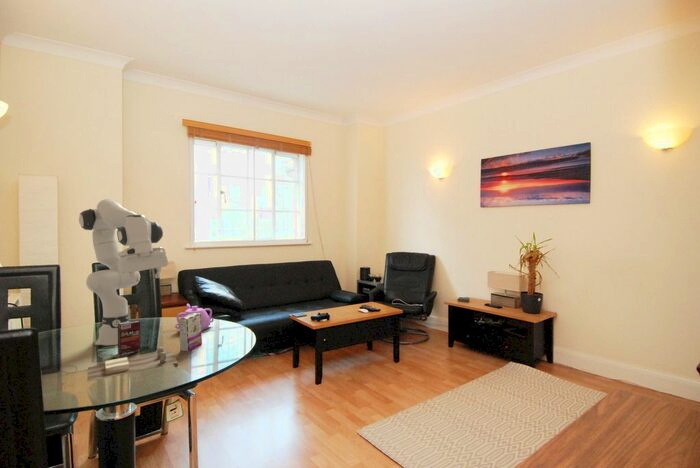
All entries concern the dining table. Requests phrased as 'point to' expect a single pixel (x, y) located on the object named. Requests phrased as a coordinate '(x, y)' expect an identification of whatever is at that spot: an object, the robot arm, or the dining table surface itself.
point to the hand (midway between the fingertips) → (147, 280)
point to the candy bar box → (190, 331)
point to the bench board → (135, 365)
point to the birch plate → (116, 365)
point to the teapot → (204, 316)
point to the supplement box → (128, 337)
